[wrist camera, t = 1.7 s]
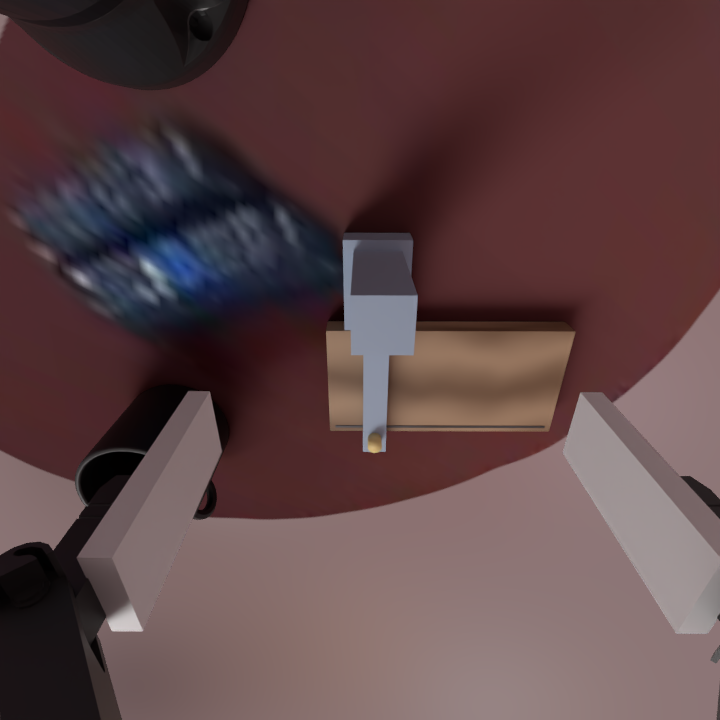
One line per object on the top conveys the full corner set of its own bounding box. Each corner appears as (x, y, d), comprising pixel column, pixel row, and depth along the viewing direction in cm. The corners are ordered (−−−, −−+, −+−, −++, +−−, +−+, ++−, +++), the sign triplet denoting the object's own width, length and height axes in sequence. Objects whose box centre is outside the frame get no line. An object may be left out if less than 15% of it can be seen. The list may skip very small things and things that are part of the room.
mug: (192, 489, 45) (155, 566, 37) (109, 408, 40) (46, 477, 32) (264, 456, 43) (242, 531, 35) (186, 366, 38) (139, 429, 30)
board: (327, 321, 35) (326, 331, 34) (564, 321, 35) (575, 331, 34) (331, 417, 40) (330, 430, 38) (540, 418, 40) (548, 431, 38)
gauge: (344, 232, 32) (335, 281, 21) (409, 232, 32) (433, 281, 21) (347, 426, 41) (342, 528, 30) (399, 426, 41) (412, 529, 30)
